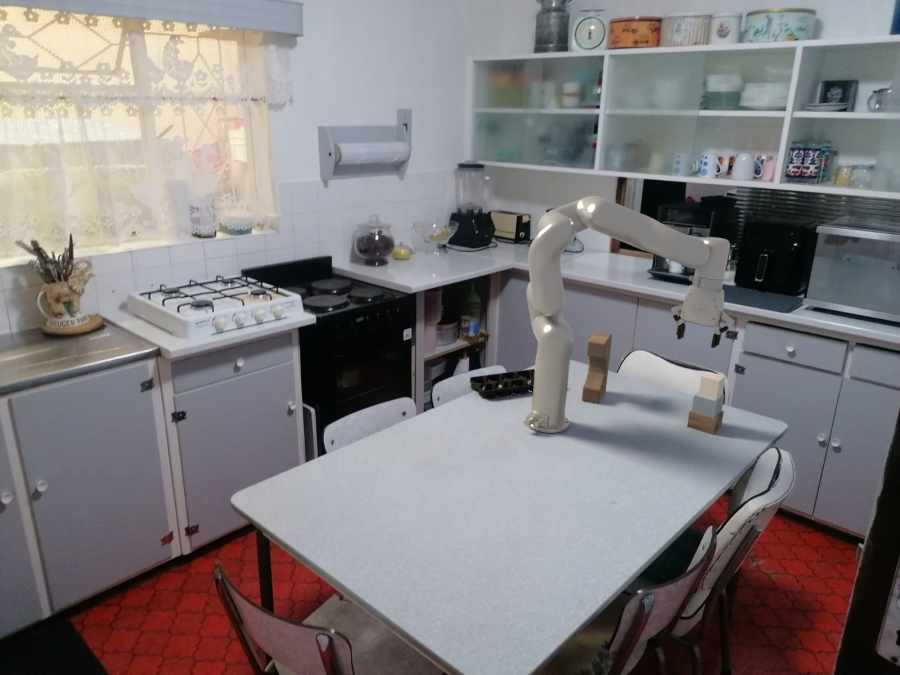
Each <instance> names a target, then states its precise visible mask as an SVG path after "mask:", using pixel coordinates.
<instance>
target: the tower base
mask: <svg viewBox="0 0 900 675" xmlns="http://www.w3.org/2000/svg"><path fill="white" fill-rule="evenodd" d="M724 413H725V411H724V410H722V411H721V412H720V413H719V414H718V415H717V416H716V417H715V418H713V417H710V416H706V415H703V414H699V413H696V412H692V409H691V410H690V411H689V413H688V418H687V425H686V427H687V428H690V429H693V430H696V431H699V432H703V433H704V434H705V433H706V434H709V435H715V433H717V431H719V429H720V428H722V424H723V420H724Z"/></svg>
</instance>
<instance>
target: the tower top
mask: <svg viewBox="0 0 900 675" xmlns="http://www.w3.org/2000/svg"><path fill="white" fill-rule="evenodd" d="M698 395H699V391H698V392H696V393H695V394H694V395H693V398H692V399H693V400H692V405H691V406H692V407H691V410H692V412H696V413H699V414H703V415H706V416H710V417H713V418H715V417H716V416H717V415H718V414H719V413H720V412H721V411H723V405H724V401H725V400H724V399H725V394H722V396H721V397H720V398H719V399H717V400H716V401H715V400H712V399H708V398H705V397H701V396H698Z"/></svg>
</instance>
